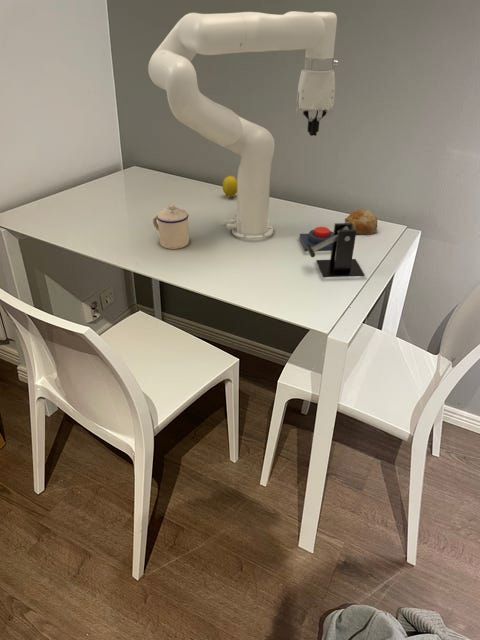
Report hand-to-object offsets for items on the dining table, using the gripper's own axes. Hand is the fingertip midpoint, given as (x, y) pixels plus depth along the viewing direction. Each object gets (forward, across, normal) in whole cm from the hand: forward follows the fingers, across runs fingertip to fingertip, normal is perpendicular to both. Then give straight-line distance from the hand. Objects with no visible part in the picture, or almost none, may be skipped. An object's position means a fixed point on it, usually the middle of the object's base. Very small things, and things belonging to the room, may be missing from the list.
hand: (312, 134), depth 146 cm
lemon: (+27, +23, -22) cm, 42 cm away
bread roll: (+27, -16, +8) cm, 33 cm away
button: (+24, -1, +19) cm, 30 cm away
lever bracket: (+27, -3, +34) cm, 44 cm away
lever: (+19, 0, +34) cm, 39 cm away
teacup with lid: (+27, +43, +13) cm, 53 cm away
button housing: (+27, -1, +19) cm, 33 cm away
